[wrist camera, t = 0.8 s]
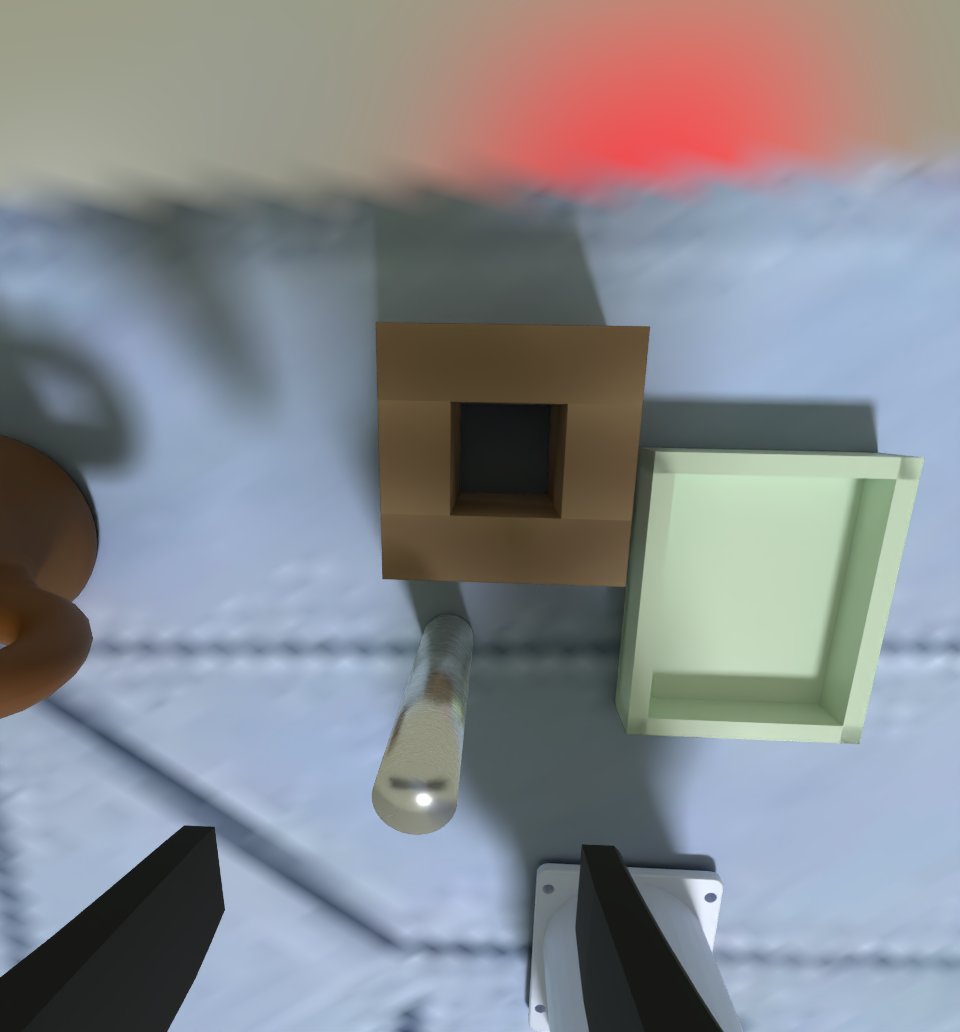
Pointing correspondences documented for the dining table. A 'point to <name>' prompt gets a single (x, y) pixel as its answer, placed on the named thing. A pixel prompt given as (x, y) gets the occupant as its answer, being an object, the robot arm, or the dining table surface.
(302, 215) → the dining table surface
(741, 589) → the tray
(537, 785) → the dining table surface
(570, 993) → the robot arm
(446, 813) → the pin
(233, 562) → the dining table surface
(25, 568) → the mug
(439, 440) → the walnut block
